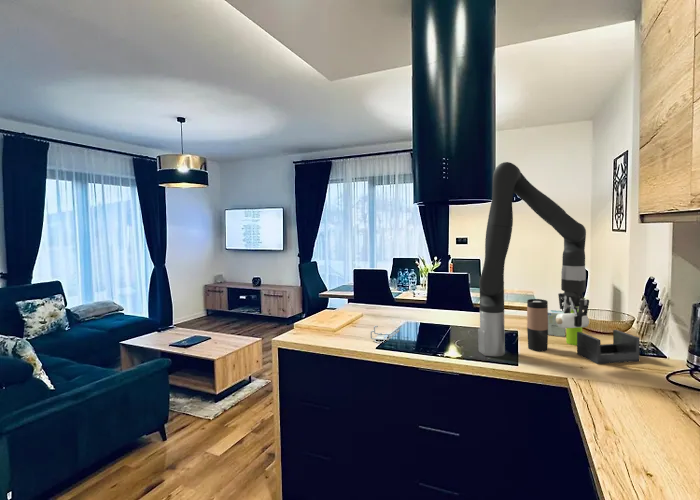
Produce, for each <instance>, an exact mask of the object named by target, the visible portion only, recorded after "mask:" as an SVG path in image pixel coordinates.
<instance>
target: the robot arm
mask: <svg viewBox="0 0 700 500" xmlns="http://www.w3.org/2000/svg"><path fill="white" fill-rule="evenodd" d="M514 194H515V195H516V196H517V197H519V198H520V199H521V200H522V201H524V203H526V205H527V206H528V207H529V208H530V209H531V210H532V211H534V213H535V214H536V215H537V216H539V218H541V219H542V220H543V221H544V222H546V223H547V224H548V225H549V226H551V227H552V228H553V229H554V230H555V231H556V232H557V233H558V234H559V235H560V237H562V238H563V252H562V256H561V258H562V259H561V260H562V266H561V275H560V276H561V280H560V281H561V285H560V287H561V291H563V293H561V292H560V293H558V303H559V309H560V310H561V311H563V312H564V313H571V309H572V310H574V314H575V316H574V326H576V327H581V326H582V316H588V311H589V305H590V300H589V299H586V298H585V297H584V295H583V293H585V292H586V287H587V286H586V285H587V284H586V283H587V282H586V281H587V279H586V277H587V273H586V272H587V271H586V252H585V248H586V238H587V230H586V227H585V226H584V224H582V223H580V222H578V221H577V220H576V219H574V218H573V217H572V216H570V215H569V214H568V213H567V211H565V209H564V208H562V207H561V206H560V205H559V204H558V203H556V202H555V201H554V200H553V199H551V198H550V197H549V196H547V195H546V194H544V193H543V192H542V191H540V190H539V189H538V188H536V186H534V185H533V184H532V183H530V181H529V180H528V179H527V178H526V176H525V175H523V173H522V171H521V170H520V169H519V167H518V166H517V165H516V164H515V163H512V162H510V161H504V162H501V163H499V164H498V165H497V166H496V167H495V169H494V170H493V175H492V195H491V196H492V197H491V203H490V208H489V213H488V219H487V223H486V231H485V241H484V243H485V244H484V251H485V252H484V263H483V265H482V266H483V267H482V271H481V274H480V277H479V281H478V282H479V283H478V286H479V327H478V329H477V339H478V340H477V341H478V345H477V346H478V349H477V350H478V352H479V353H480V354H482V355H483V356H487V357H502V356H504V355H505V354H506V351H505V350H506V346H505V345H506V343H505V342H506V340H505V337H506V334H505V279H504V278H505V265H506V264H505V263H506V258H507V254H508V251H509V246H510V244H511V243H510V242H511V238H512V233H513V224H514V212H513V196H514ZM584 298H585V299H584ZM578 306H579V307H578ZM577 310H579V311H578V312H577Z"/></svg>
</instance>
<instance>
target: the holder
mask: <svg viewBox="0 0 700 500" xmlns="http://www.w3.org/2000/svg"><path fill="white" fill-rule="evenodd" d="M612 331H613V332H612V335H613V336H612V342H613V343H607V344H601V339H600V338H596V337H594V336H592V335H589V334H587V333H584V332H583V331H582V332H577V345H576V355H578V356H580V357H582V358H584V359H586V360H588V361H590V362H592V363H595V364H597V365H601V364H603V365H605V364H621V363H634V362H635V363H637V362H638V363H639V362H640V337H639V336H636V335H633V334H629V333H628V332H627V333H626V332H624V331H621V330H618V329H612Z"/></svg>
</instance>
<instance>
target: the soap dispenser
mask: <svg viewBox="0 0 700 500" xmlns="http://www.w3.org/2000/svg"><path fill="white" fill-rule="evenodd" d="M583 298H584V299H586V297H583ZM578 307H579V306H578ZM578 311H579V310H577V312H578ZM571 313H574V310H572V309H571ZM577 332H582V333H583V327H579V328H566V333H565V341H566V342H565V343H566V344H568V345H571V346H577Z"/></svg>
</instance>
